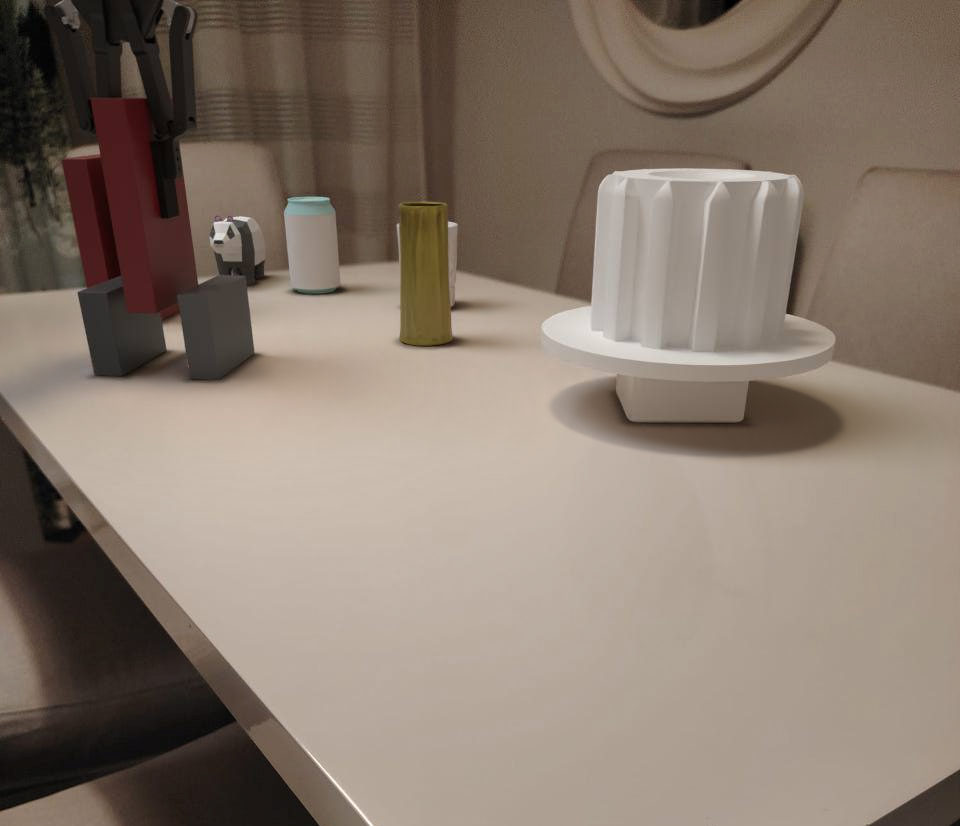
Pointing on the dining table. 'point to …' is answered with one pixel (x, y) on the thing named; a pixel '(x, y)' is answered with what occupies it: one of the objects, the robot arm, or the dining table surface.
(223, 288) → the grey bookends
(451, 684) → the dining table surface
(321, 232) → the can
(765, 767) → the dining table surface
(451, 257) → the white cup
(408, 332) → the vase
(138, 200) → the burgundy book
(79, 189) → the burgundy books
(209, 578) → the dining table surface
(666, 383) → the flanged gear
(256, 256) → the giant panda
